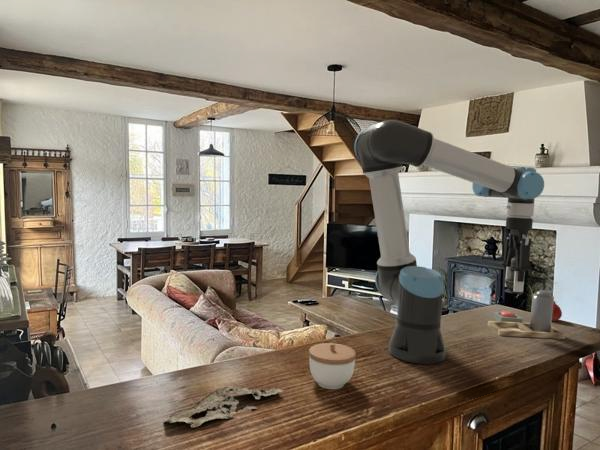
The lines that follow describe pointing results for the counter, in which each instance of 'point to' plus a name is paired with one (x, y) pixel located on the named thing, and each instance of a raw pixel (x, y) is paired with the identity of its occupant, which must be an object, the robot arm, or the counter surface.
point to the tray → (522, 330)
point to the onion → (556, 312)
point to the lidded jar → (331, 364)
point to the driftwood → (218, 405)
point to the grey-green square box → (506, 318)
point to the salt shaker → (511, 278)
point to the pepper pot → (541, 311)
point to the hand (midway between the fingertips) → (513, 288)
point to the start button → (507, 314)
